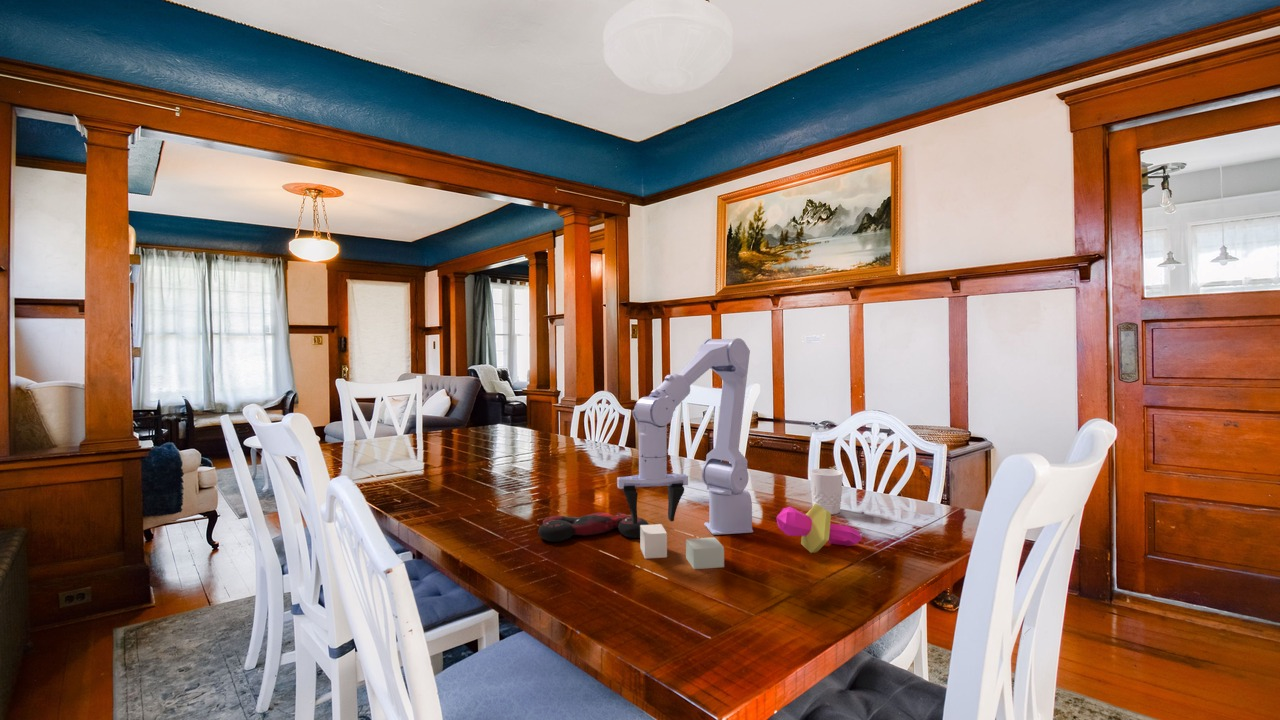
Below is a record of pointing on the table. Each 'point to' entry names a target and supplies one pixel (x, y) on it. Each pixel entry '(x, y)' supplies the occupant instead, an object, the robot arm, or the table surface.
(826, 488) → the white cup
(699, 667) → the table surface
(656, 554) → the cream brick
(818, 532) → the toy
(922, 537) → the table surface
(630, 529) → the toy motorcycle
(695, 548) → the sage base brick
